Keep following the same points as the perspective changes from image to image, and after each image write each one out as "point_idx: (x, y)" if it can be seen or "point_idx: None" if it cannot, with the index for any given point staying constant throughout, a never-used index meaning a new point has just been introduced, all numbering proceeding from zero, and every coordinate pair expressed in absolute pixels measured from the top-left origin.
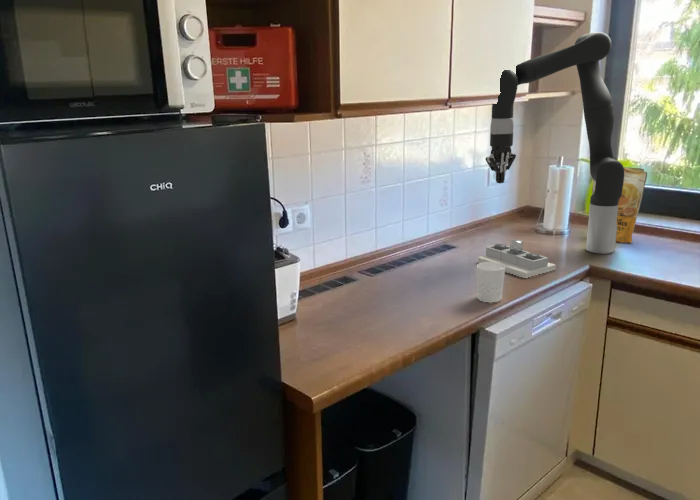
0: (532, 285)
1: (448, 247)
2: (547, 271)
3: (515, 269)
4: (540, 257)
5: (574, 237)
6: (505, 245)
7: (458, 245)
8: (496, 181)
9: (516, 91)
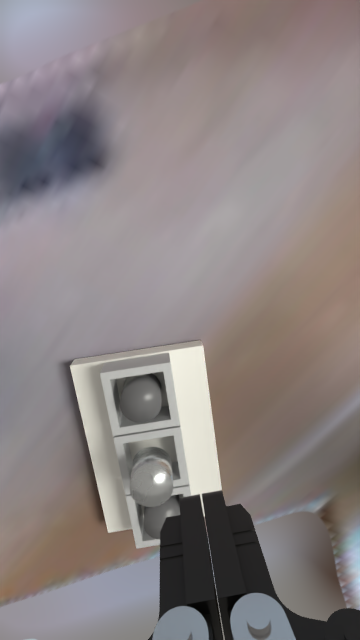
0: (96, 557)
1: (79, 153)
2: None
3: (101, 502)
4: None
5: None
6: (154, 412)
7: (129, 148)
8: (167, 521)
9: None
